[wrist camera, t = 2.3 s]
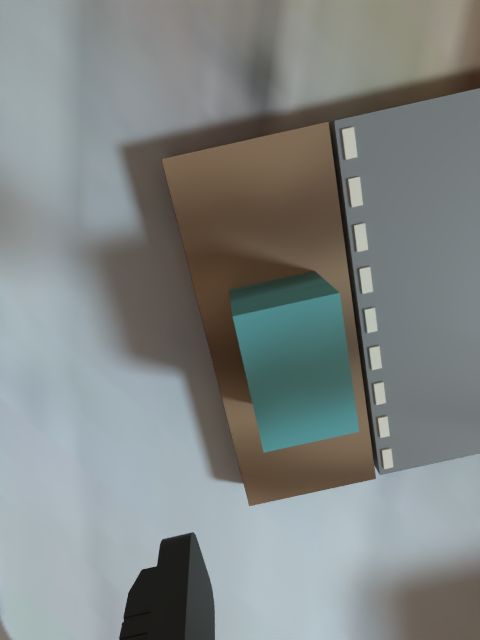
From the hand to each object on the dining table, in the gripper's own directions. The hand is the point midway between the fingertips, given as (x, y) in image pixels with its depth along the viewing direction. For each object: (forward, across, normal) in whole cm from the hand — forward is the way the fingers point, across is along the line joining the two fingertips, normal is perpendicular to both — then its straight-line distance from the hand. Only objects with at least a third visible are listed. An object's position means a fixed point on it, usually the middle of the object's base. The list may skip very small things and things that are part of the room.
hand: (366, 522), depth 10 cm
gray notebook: (+13, -9, 0) cm, 16 cm away
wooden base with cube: (+13, 0, 0) cm, 13 cm away
